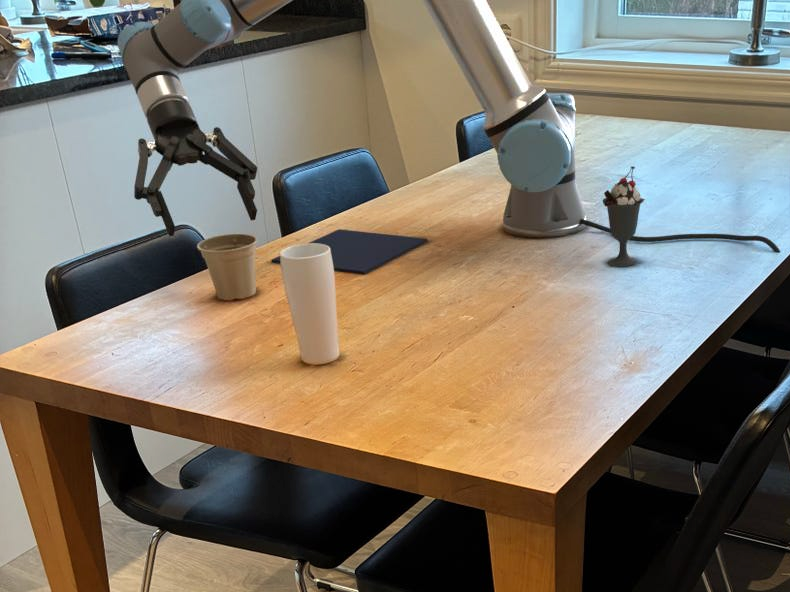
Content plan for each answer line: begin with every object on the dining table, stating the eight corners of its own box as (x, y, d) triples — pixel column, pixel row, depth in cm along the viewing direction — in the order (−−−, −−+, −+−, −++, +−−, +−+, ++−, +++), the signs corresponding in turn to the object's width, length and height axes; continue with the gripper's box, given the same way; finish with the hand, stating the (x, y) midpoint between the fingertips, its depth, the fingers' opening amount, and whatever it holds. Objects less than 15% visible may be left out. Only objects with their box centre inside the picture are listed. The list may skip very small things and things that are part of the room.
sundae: (646, 256, 173) (649, 163, 165) (638, 269, 167) (640, 173, 160) (607, 255, 175) (608, 163, 167) (598, 267, 169) (598, 173, 162)
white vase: (297, 351, 145) (280, 245, 137) (346, 347, 145) (332, 240, 138) (294, 370, 139) (276, 260, 132) (344, 366, 140) (330, 255, 132)
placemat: (428, 241, 188) (427, 238, 188) (364, 274, 174) (364, 271, 173) (339, 231, 197) (338, 229, 197) (271, 262, 183) (271, 259, 182)
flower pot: (252, 305, 163) (243, 250, 159) (197, 304, 165) (186, 250, 161) (274, 285, 171) (266, 233, 167) (221, 285, 173) (211, 233, 169)
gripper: (239, 117, 179) (283, 222, 175) (92, 139, 169) (135, 250, 165) (243, 87, 172) (290, 196, 169) (91, 108, 162) (136, 224, 159)
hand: (213, 223), depth 167 cm, fingers open, 13 cm apart
